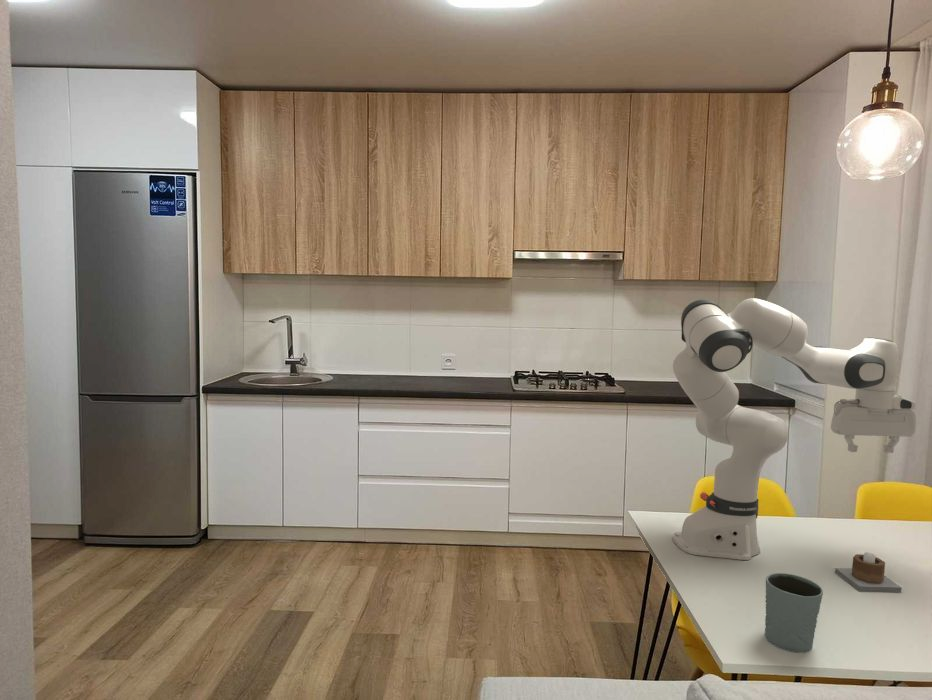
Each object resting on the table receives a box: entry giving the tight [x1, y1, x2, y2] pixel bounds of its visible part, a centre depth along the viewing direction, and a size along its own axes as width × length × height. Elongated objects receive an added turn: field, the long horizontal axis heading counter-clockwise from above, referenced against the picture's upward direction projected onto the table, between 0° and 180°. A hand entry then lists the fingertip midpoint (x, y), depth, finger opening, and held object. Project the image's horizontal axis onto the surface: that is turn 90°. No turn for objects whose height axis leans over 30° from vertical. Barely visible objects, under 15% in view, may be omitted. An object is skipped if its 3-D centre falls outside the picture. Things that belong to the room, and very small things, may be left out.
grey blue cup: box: [764, 572, 824, 654], centre depth 127 cm, size 10×10×12 cm
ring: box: [851, 553, 886, 583], centre depth 155 cm, size 6×6×4 cm
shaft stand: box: [834, 552, 903, 593], centre depth 155 cm, size 10×10×7 cm
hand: (870, 452), depth 166 cm, fingers open, 8 cm apart
